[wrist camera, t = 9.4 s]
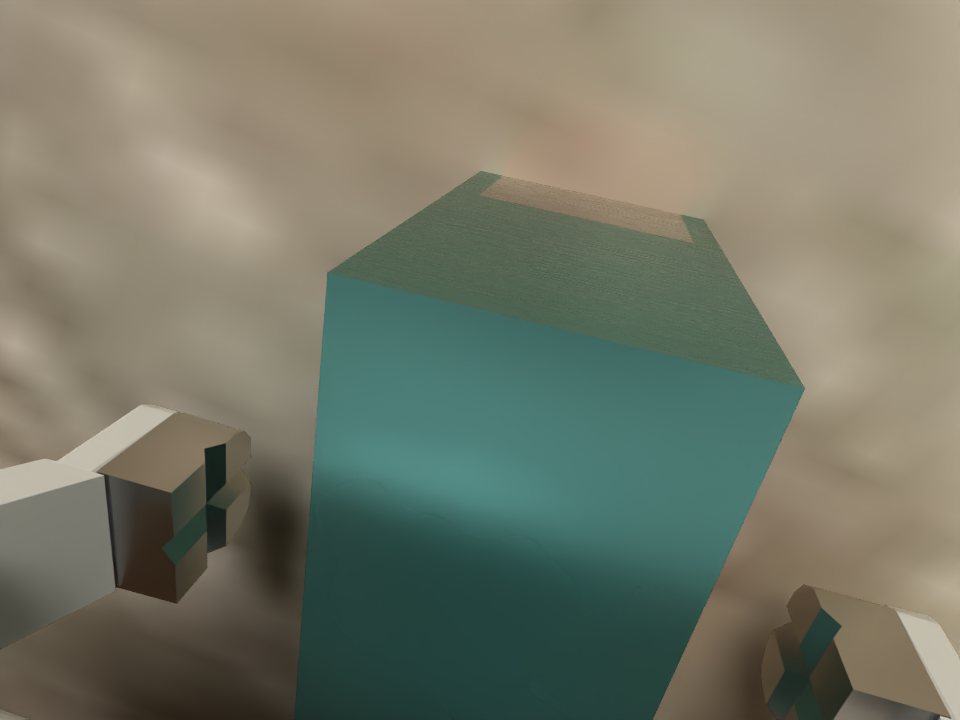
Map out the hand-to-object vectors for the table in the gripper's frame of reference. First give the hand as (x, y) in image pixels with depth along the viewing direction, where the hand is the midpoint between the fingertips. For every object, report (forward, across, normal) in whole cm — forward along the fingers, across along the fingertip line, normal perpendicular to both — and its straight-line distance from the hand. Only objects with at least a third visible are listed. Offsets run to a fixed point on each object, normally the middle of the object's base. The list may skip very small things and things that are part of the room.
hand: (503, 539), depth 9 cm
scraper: (+2, 0, +6) cm, 6 cm away
